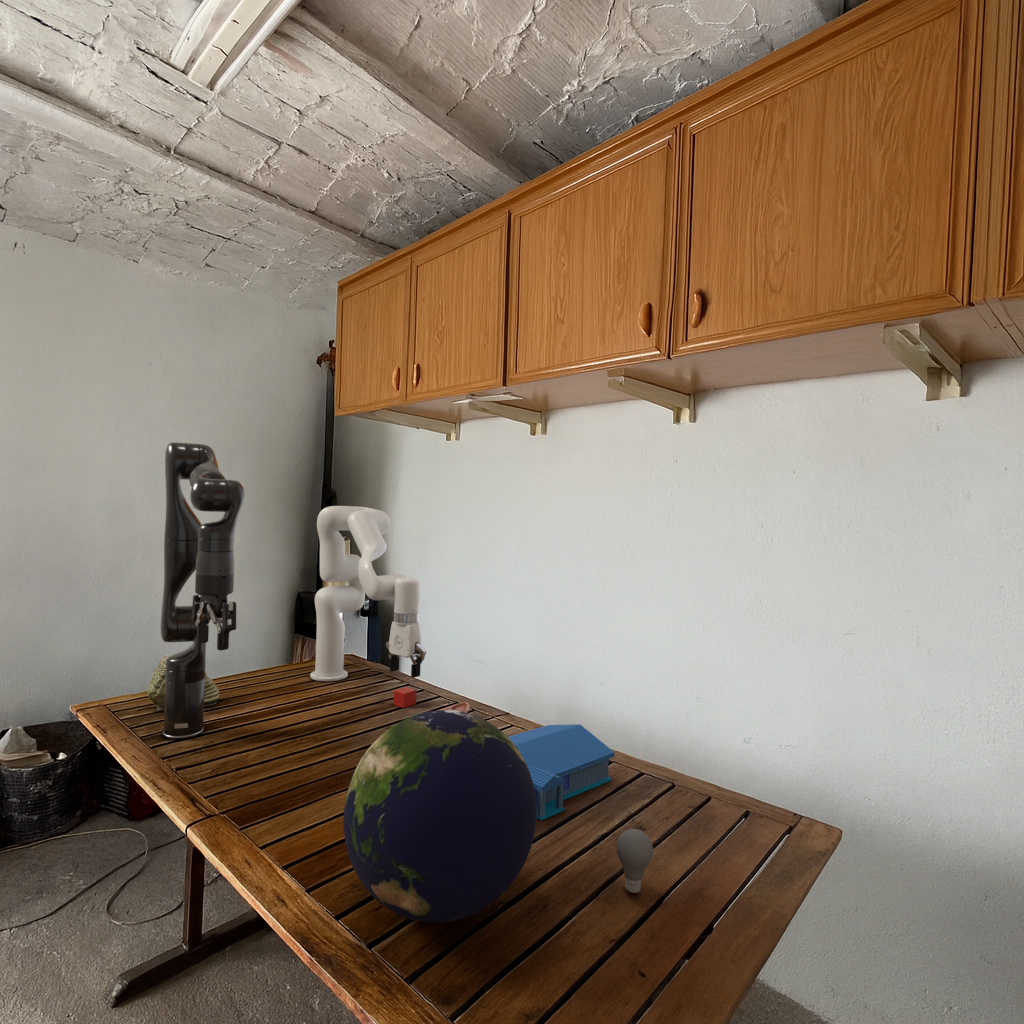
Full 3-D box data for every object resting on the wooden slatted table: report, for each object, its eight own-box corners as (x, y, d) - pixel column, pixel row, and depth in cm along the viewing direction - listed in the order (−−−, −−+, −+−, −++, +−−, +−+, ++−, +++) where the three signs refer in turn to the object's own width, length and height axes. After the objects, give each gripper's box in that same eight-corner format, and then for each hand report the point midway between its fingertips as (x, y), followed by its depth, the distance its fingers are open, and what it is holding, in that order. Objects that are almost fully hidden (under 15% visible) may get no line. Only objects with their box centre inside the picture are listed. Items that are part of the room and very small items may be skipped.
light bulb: (610, 879, 108) (613, 822, 108) (644, 879, 109) (647, 822, 109) (619, 902, 102) (622, 840, 102) (655, 901, 103) (658, 840, 103)
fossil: (144, 707, 182) (145, 655, 182) (212, 696, 194) (213, 647, 194) (151, 716, 175) (153, 662, 175) (221, 703, 188) (223, 653, 188)
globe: (296, 934, 92) (304, 728, 91) (406, 836, 119) (412, 678, 119) (484, 1004, 80) (494, 770, 80) (557, 878, 108) (565, 703, 108)
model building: (493, 841, 119) (496, 788, 119) (420, 792, 137) (422, 747, 137) (623, 784, 145) (625, 741, 145) (547, 750, 164) (548, 712, 163)
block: (393, 704, 195) (393, 690, 194) (405, 700, 199) (406, 686, 199) (403, 708, 192) (404, 693, 192) (415, 704, 196) (416, 689, 196)
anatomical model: (417, 708, 179) (430, 696, 190) (416, 722, 179) (430, 710, 191) (462, 714, 177) (473, 701, 188) (461, 728, 177) (472, 715, 188)
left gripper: (181, 569, 138) (178, 643, 138) (215, 576, 129) (212, 655, 130) (215, 567, 144) (212, 638, 144) (249, 573, 135) (246, 649, 136)
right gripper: (378, 615, 196) (376, 670, 197) (416, 623, 186) (414, 681, 186) (397, 613, 202) (395, 666, 202) (434, 620, 191) (433, 676, 192)
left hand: (212, 646), depth 137 cm, fingers open, 8 cm apart
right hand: (404, 673), depth 194 cm, fingers open, 9 cm apart
